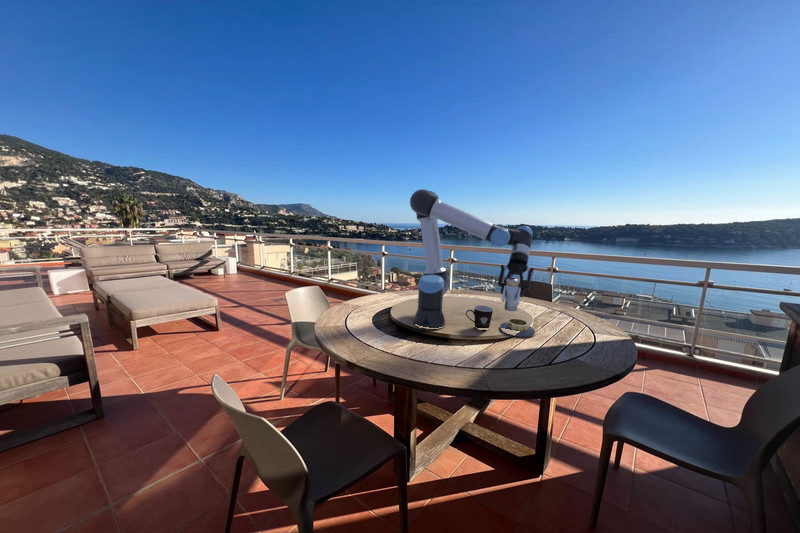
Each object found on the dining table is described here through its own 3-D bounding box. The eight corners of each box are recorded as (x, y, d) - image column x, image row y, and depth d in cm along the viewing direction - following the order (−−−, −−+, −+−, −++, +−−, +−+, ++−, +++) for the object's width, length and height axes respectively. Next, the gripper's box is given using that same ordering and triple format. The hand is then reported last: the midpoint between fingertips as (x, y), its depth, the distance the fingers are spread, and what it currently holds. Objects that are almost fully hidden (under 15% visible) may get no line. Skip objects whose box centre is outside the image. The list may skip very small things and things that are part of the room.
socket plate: (493, 326, 140) (494, 318, 140) (517, 323, 146) (518, 314, 145) (516, 339, 127) (517, 330, 126) (541, 335, 132) (543, 325, 132)
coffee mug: (493, 327, 140) (495, 307, 138) (488, 333, 132) (490, 312, 131) (470, 322, 146) (471, 303, 144) (463, 327, 139) (465, 307, 137)
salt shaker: (501, 308, 124) (503, 278, 121) (511, 306, 126) (513, 277, 123) (510, 312, 119) (512, 281, 116) (520, 310, 121) (522, 280, 118)
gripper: (541, 263, 127) (534, 310, 117) (499, 259, 136) (488, 302, 125) (542, 252, 122) (534, 301, 111) (497, 249, 131) (486, 294, 120)
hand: (510, 301), depth 118 cm, fingers closed on salt shaker, 5 cm apart
